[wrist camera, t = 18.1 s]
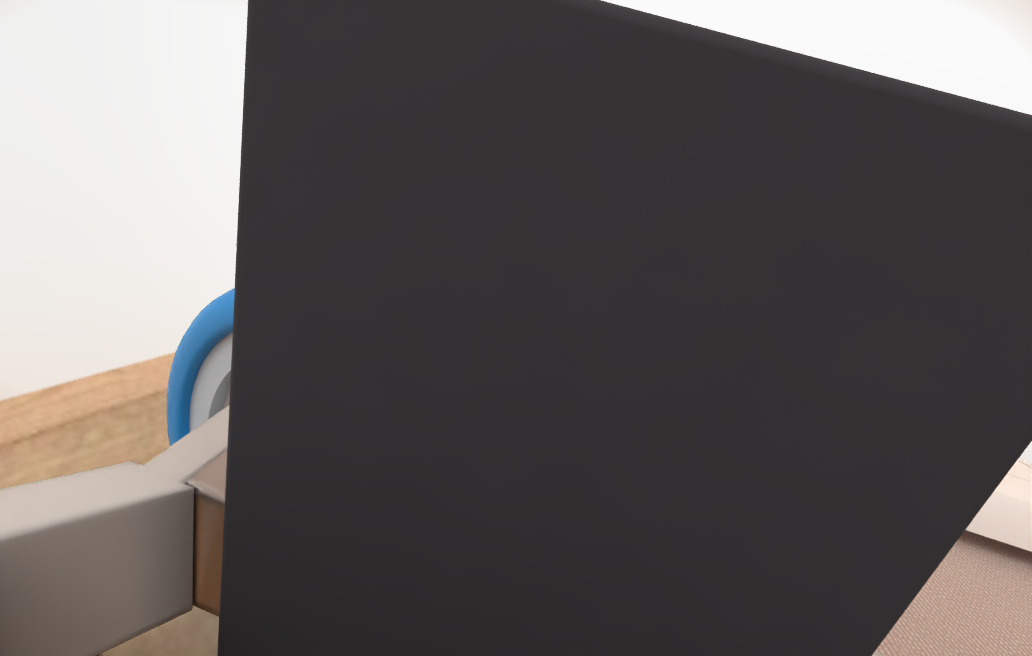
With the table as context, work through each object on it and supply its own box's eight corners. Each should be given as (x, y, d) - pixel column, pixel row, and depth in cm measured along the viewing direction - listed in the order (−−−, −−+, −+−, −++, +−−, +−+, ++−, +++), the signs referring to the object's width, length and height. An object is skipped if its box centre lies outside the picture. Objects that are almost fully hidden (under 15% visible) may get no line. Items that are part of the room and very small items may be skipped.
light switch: (882, 363, 32) (1233, 515, 13) (867, 402, 33) (1189, 605, 14) (672, 301, 34) (717, 358, 15) (660, 339, 34) (688, 442, 15)
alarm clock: (162, 564, 23) (150, 143, 16) (296, 479, 28) (329, 131, 21) (463, 812, 18) (621, 362, 12) (559, 657, 23) (707, 281, 17)
